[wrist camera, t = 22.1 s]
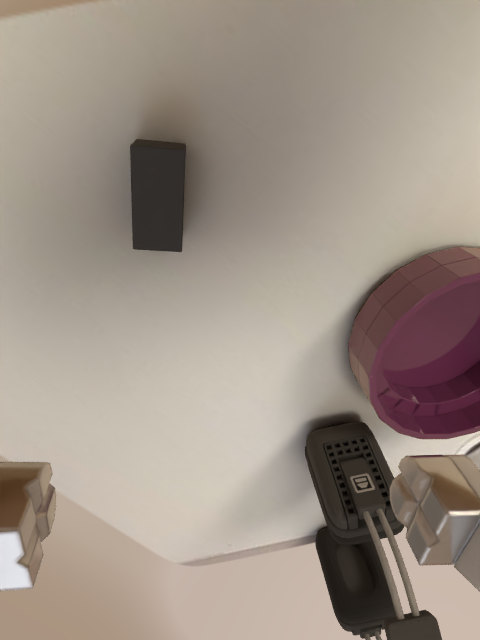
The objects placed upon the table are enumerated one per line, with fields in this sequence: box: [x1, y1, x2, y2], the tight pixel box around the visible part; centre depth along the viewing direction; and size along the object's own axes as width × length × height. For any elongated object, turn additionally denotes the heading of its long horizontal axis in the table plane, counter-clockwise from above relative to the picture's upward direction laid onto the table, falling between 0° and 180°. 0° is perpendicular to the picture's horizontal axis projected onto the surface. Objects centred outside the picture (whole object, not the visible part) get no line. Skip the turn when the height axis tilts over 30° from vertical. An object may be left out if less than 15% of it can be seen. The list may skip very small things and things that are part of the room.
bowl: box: [348, 247, 480, 439], centre depth 32 cm, size 15×15×5 cm
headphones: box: [305, 422, 442, 640], centre depth 35 cm, size 22×6×20 cm, turn 9°
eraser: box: [130, 139, 186, 252], centre depth 25 cm, size 6×3×3 cm, turn 174°
